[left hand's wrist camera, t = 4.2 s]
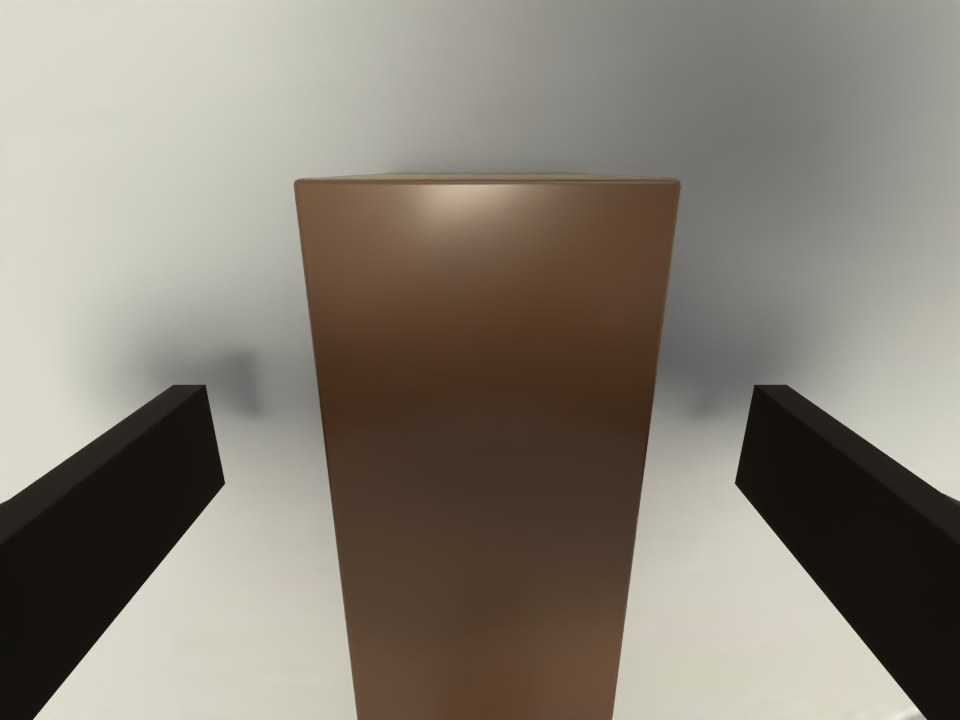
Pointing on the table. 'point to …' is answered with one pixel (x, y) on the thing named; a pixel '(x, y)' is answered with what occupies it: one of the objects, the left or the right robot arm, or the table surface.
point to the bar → (486, 428)
